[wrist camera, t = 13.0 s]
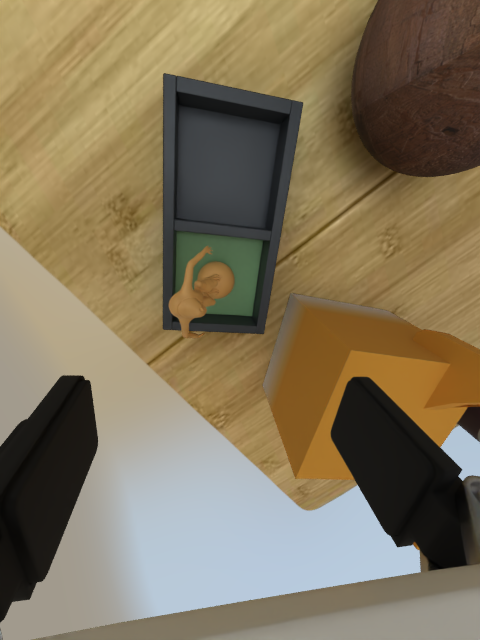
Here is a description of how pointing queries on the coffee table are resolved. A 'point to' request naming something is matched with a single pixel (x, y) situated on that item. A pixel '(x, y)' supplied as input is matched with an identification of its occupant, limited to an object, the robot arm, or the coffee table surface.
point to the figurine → (200, 291)
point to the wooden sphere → (420, 86)
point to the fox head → (361, 361)
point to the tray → (225, 194)
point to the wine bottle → (471, 421)
